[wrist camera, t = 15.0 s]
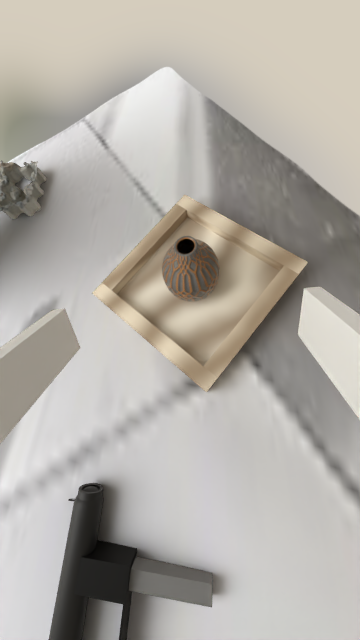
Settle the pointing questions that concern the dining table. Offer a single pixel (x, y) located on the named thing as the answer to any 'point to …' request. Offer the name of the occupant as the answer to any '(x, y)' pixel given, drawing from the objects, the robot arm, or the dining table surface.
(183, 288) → the vase
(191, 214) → the tray
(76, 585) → the door handle
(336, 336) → the robot arm
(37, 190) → the egg carton
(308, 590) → the dining table surface
